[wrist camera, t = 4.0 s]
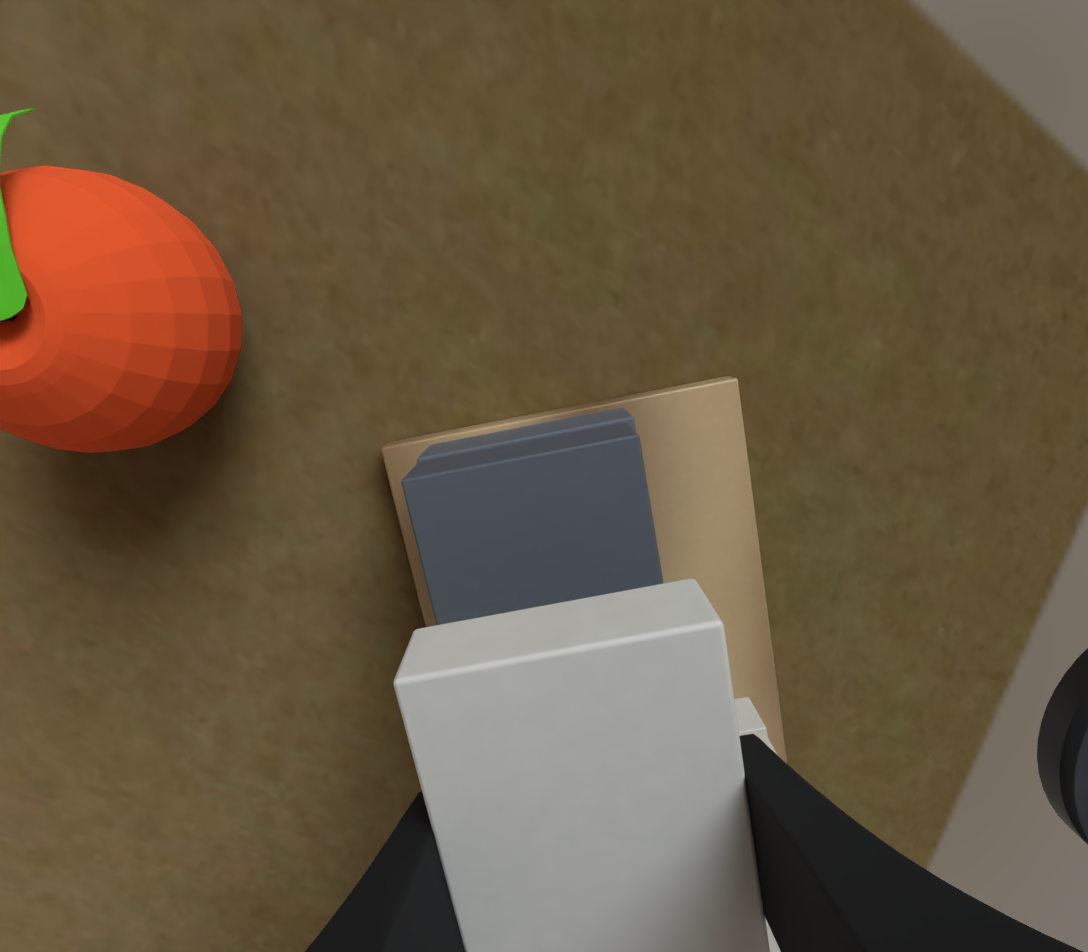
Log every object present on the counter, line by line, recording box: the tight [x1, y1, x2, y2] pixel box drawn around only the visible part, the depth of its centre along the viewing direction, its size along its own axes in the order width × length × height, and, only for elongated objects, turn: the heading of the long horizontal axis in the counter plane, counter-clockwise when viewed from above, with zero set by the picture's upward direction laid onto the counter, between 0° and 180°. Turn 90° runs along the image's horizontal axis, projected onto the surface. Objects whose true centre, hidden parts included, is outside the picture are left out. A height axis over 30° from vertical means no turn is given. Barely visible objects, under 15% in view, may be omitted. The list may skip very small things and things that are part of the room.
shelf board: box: [381, 376, 787, 763], centre depth 22 cm, size 11×18×1 cm, turn 11°
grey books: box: [401, 408, 664, 625], centre depth 19 cm, size 6×9×4 cm, turn 11°
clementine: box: [0, 108, 242, 453], centre depth 16 cm, size 8×7×7 cm
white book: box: [393, 579, 770, 952], centre depth 11 cm, size 5×8×2 cm, turn 11°
